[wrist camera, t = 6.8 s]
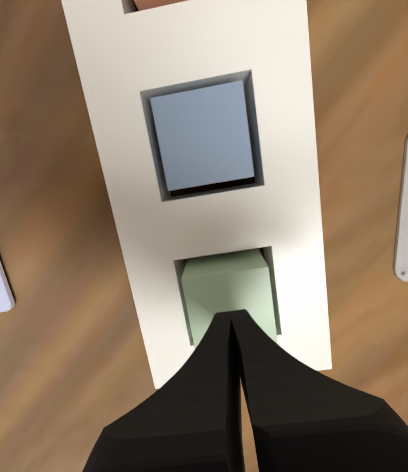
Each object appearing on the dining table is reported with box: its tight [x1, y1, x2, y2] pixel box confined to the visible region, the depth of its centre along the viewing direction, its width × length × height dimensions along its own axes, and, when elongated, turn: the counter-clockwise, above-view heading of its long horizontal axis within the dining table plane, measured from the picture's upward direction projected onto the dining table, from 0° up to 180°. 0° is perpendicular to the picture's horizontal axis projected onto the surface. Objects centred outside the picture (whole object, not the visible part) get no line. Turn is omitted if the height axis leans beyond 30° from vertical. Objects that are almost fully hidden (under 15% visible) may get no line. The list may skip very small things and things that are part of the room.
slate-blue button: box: [150, 80, 254, 191], centre depth 13 cm, size 4×4×3 cm
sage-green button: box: [181, 249, 278, 348], centre depth 14 cm, size 4×4×3 cm
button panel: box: [61, 0, 332, 389], centre depth 14 cm, size 10×26×3 cm, turn 9°
